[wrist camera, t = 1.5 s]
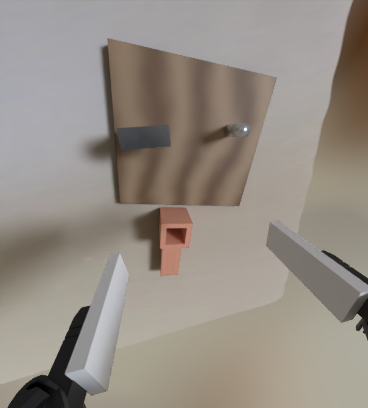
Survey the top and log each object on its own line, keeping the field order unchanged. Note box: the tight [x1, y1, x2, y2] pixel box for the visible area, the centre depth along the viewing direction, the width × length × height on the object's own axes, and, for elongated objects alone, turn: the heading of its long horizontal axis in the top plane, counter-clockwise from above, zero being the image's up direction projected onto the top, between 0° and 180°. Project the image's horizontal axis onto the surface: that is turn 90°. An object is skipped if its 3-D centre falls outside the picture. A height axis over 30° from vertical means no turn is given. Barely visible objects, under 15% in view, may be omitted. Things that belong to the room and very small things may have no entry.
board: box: [107, 38, 277, 206], centre depth 26 cm, size 24×22×1 cm
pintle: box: [224, 123, 251, 137], centre depth 23 cm, size 2×2×6 cm
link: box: [159, 208, 193, 276], centre depth 32 cm, size 16×5×6 cm, turn 174°
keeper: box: [116, 125, 171, 151], centre depth 21 cm, size 6×2×7 cm, turn 94°
